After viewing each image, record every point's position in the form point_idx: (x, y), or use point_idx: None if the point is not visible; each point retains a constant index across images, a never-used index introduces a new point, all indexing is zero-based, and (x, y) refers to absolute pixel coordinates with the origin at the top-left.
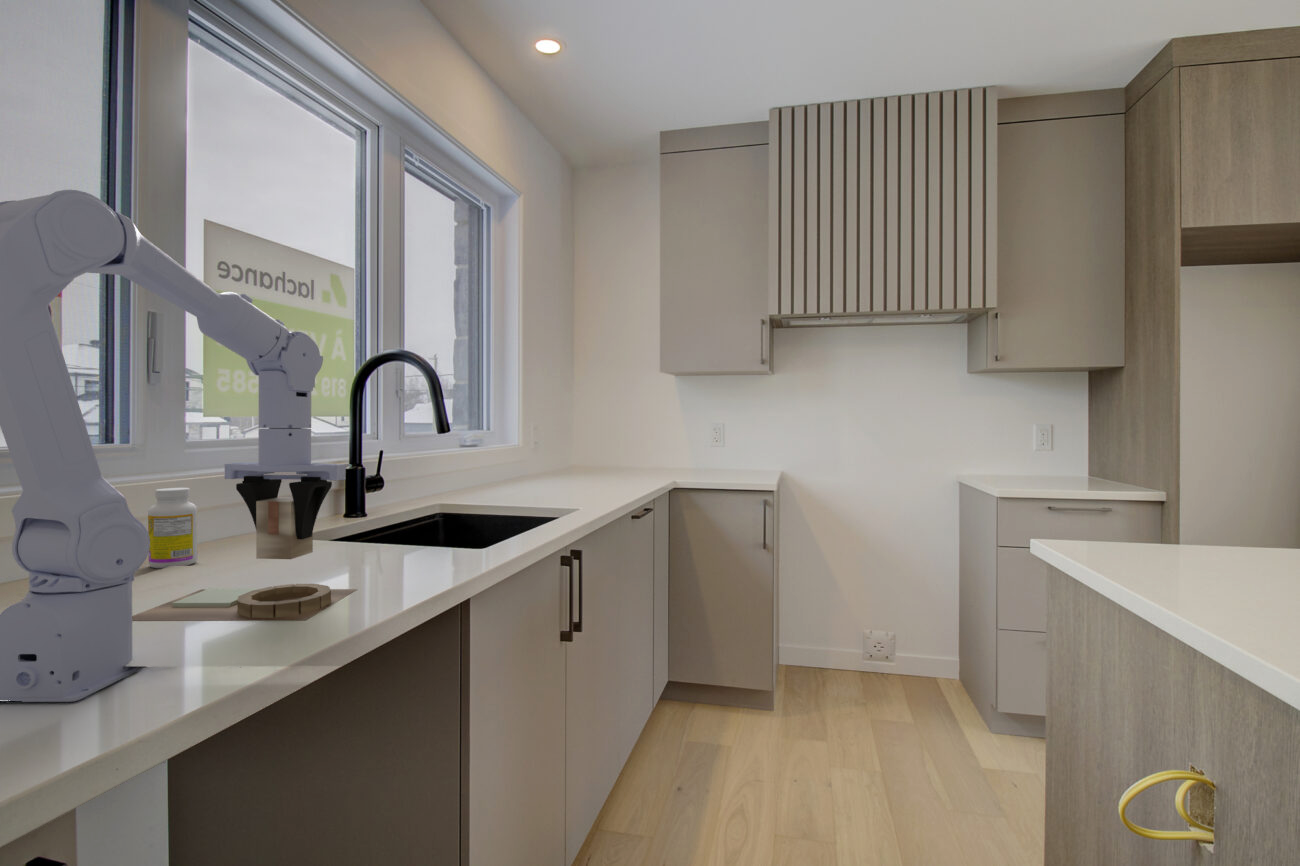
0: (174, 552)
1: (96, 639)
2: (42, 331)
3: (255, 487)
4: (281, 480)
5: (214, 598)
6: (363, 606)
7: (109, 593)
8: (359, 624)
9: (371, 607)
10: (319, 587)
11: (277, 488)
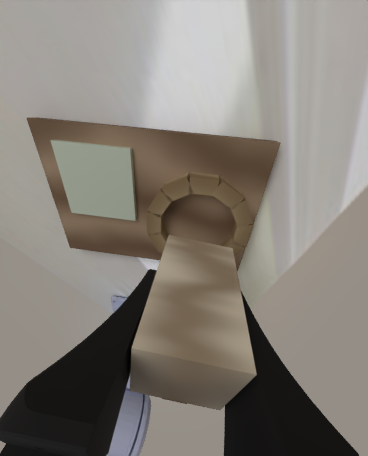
0: None
1: None
2: None
3: (109, 443)
4: (90, 434)
5: (103, 199)
6: (287, 190)
7: None
8: (285, 255)
9: (298, 196)
10: (232, 204)
11: (111, 391)
